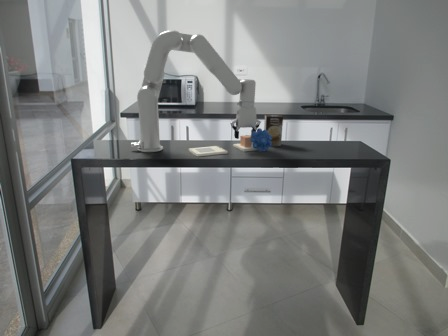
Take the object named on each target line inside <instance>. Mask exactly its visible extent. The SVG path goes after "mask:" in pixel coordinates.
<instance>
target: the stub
mask: <svg viewBox="0 0 448 336" xmlns="http://www.w3.org/2000/svg"><path fill="white" fill-rule="evenodd" d="M239 138H240V141H239V143H234V144H232V147H233V148H235V149H238V150H240V151H241V152H243V153H244V152H252V151H258V149H257V148H253V146H252V145H253V143H252V142H251V141H250V138H251V135H239Z"/></svg>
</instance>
